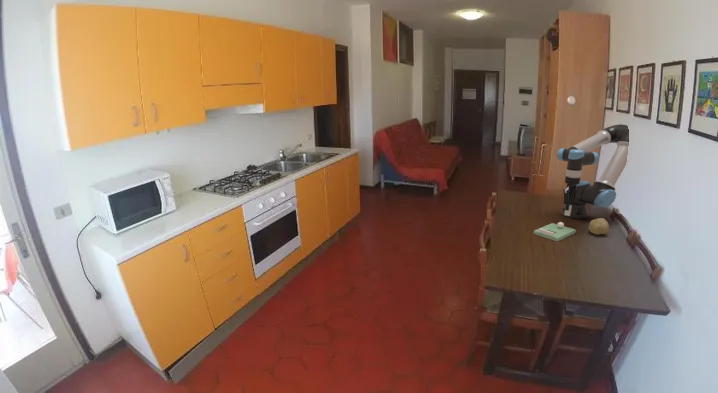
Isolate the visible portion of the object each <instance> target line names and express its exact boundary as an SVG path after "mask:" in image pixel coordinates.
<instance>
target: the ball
mask: <svg viewBox="0 0 718 393" xmlns="http://www.w3.org/2000/svg"><path fill="white" fill-rule="evenodd" d="M557 226H558V227H559V228H563V227H564V226H565V224H564V222H562V221H559V222H557Z"/></svg>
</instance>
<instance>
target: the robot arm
mask: <svg viewBox="0 0 718 393" xmlns="http://www.w3.org/2000/svg"><path fill="white" fill-rule="evenodd" d="M627 125H628V124H622V123H621V124H614V125H610V126H608V127H604V128H603V129H600V130H598V131H597V132H596V134H594V135H592V136H590V137H588V138H586V139H584V140H582V141H579V142H578V143H577V144H574V145H572V146H570V147H569V148H560V149H558V150H557V152H556V158H557V160H559V161H563V162H567V165H566V169H565V178H564V183H565V184H566V187H565V189H563V205H564V206H563V208H562V209H561V215H562V216H564V217H567V218H569V219H576V220H577V219H579V220H584V219H587V218H588V217H589V211H588V205H587V204H589V205H592V206H596V207H598V208H607V207H608V208H609V206H611V205H613V203H614V202H615V201H616V198H617V192H616V187H615V185H616V184H617V182H618V180H619V178H620V176H621V174H622V173H623V171H624V170H625V167H626V166H627V164H626V162H627V155H628V146H629V129H628V126H627ZM611 143H612V144H613V143H614V144H616V146H617V147H616V150H615V151H614V153H613V155H612V157H611V158H610V160H609V161H608V164H607V165H606V167H605V168H604V170H603V173H602V174H601V176H600V177H599V179H598V180H596V181H594V182H593V184H591V181H589V180H581V177H582V170H583V166H592V165H596V164H597V163H598V162H599V159H600V157H599V156H600V155H599V154H598V153H597V152H596V151H592V150H595V149H597V148H598V147H600V146H603V145H604V146H605V145H608V144H611ZM627 163H628V162H627Z"/></svg>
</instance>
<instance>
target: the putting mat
mask: <svg viewBox="0 0 718 393" xmlns="http://www.w3.org/2000/svg"><path fill="white" fill-rule="evenodd" d="M576 231H577V229H575V228H571V227H568V226H565V225H564V227H563V228H559V227H558V226H557V224H556V223H554V222H551V223H550V224H547V225H544V226H542V227H539V228H537V229H534V230H533V235H536V236H538V237H542V238H545V239H548V240H552V241H555V242H559V241H561V240H564V239H565V238H568V237H569V236H572V235H574V234H575V233H576Z"/></svg>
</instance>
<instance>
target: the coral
mask: <svg viewBox="0 0 718 393" xmlns="http://www.w3.org/2000/svg"><path fill="white" fill-rule="evenodd" d="M588 229H589V231H590V233H592V234H593V235H597V236H598V235H607V234H608V233H609V231H610V227H609V222H608V221H607V220H606V219H605V218H603V217H602V218H601V217H599V218H594V219H592V220H590V222H589V225H588Z"/></svg>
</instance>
